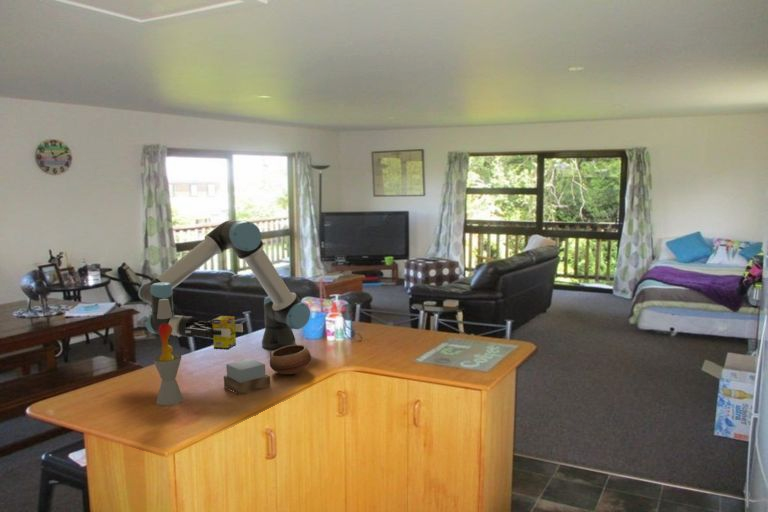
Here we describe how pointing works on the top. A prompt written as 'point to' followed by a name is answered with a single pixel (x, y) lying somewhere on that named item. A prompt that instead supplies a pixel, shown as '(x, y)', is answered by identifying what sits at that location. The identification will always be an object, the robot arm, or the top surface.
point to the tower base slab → (247, 384)
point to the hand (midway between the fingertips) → (235, 330)
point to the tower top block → (245, 370)
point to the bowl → (290, 359)
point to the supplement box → (224, 323)
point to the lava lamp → (167, 360)
